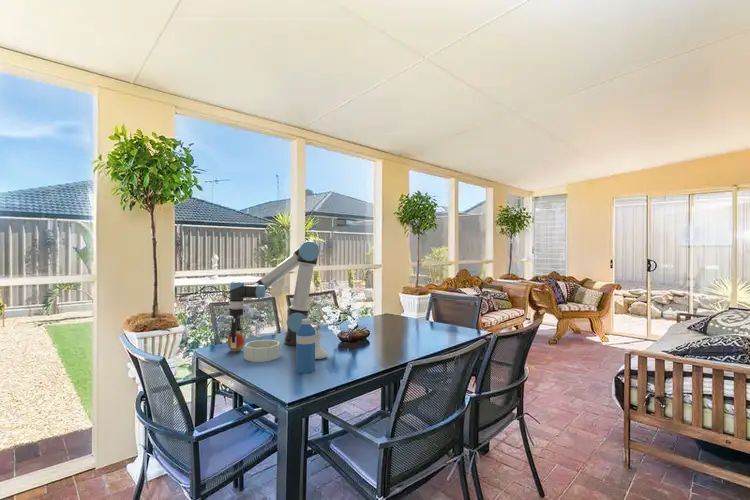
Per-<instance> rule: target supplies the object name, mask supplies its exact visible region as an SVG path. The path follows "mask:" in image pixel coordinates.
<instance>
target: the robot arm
mask: <svg viewBox="0 0 750 500" xmlns="http://www.w3.org/2000/svg"><path fill="white" fill-rule="evenodd" d="M320 250H321V249H320V247H319V245H318V243H316V242H315V241H313V240H306V241H305V240H304V241H303V242H302V243H301V244H300V245H299V247H297V248H296V249H295V250H294V251H293V253H292V254H291V255H290V256H288V258H286V259H285V260H283V261H282V262H281V263H279V264H278V265H277V266H275V267H274V268H273V269H271V270H270V271H268V273H267V274H264V275H263V276H262V277H261V278H260V279H258V280H257V281H256V282H254V283H252V284H251V285H250V284H245V282H244V281H240V280H239V281H231V282H230V284H229V285H230V287H229V302H228V305H229V311H228V313H229V316H231V317H232V319H231V326H230V327H231V328H230V334H231V335H230V334H229V336H230V337H231V348H236V334H241V331H242V330H243V329H242V323H241V316H243V315H244V304H245V303H244V302H245V299H264V298H265V297H266V290H268V289H269V288H271V287H272V286H273V285H274V284H276V283H277V282H278V281H280V280H281V279H283V277H285V276H287V275H288V274H289V273H290V272H291V271H293V270H294V269H296V268H297V267H298V270H297V276H296V282H295V287H294V292H293V299H292V304H291V305H290V306H288V307H287V310H286V314H287V317H286V326H287V327H286V334H285V336H284V340H283V341H284V342H283V343H284V345H287V346H296V331H297V329H298V328H299V327H300V325H301V324H302V319H309V318H308V316H309V308H308V301H309V295H310V292H311V291H310V290H311V284H312V280H313V279H312V278H313V272H314V268H315V267H316V266H317V264H318V258H319V255H320Z"/></svg>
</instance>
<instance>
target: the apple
mask: <svg viewBox="0 0 750 500" xmlns="http://www.w3.org/2000/svg"><path fill="white" fill-rule="evenodd" d="M230 335H231V333H230V334H229V335H228V339H227V347H228V349H229V350H230V351H233V352H239V351H241V350H243V349H244V346H245V344H246V338H245V336H244V335H243V334H241V333H240V334H236V348H231V337H230Z"/></svg>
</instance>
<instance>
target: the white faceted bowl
mask: <svg viewBox="0 0 750 500" xmlns="http://www.w3.org/2000/svg"><path fill="white" fill-rule="evenodd" d="M280 348H281V343H280V341H278V340H275V339H256V340H252V341H248V342H245V345H244V347H243V349H244V350H243V351H244V353H243V356H244V357H243V359H244V360H245V361H249V362H253V363H259V362H262V363H263V362H269V361H273V360H276V359H279V358H280V356H281V353H280V351H281V349H280Z"/></svg>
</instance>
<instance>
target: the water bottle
mask: <svg viewBox="0 0 750 500" xmlns="http://www.w3.org/2000/svg"><path fill="white" fill-rule="evenodd" d="M315 332H316V329H315V328H314V327H313V326H312V324H311V319H310V318H307V319H302V324H301V325H300V327H299V328H298V329H297V331H296V345H295V346H296V347H295V371H296V373H298V374H304V375H305V374H311V373H313V372H315V371H316V359H315V344H316V340H315Z"/></svg>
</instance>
